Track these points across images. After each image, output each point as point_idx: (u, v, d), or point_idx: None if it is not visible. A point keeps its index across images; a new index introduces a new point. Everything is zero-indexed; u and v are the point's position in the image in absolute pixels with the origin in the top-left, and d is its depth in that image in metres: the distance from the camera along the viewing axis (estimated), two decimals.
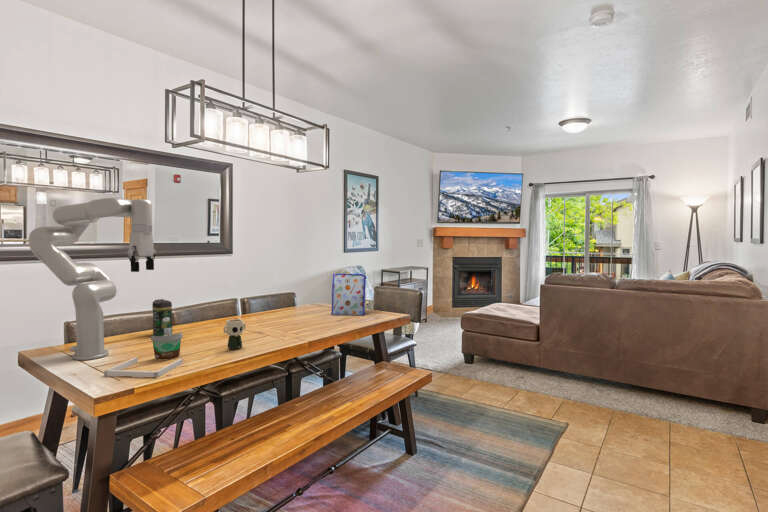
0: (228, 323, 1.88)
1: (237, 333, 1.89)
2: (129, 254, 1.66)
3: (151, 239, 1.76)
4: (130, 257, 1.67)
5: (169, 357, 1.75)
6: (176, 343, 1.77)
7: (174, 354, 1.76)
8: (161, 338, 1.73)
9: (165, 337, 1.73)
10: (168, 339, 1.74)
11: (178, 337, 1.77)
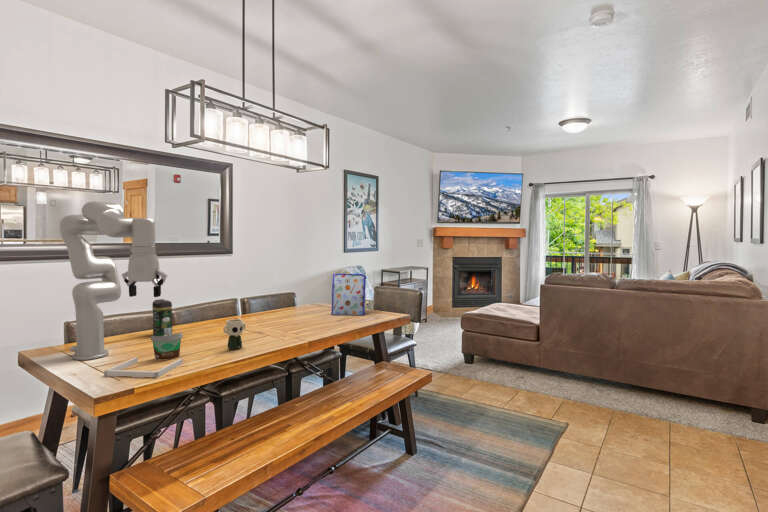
0: (228, 323, 1.88)
1: (237, 333, 1.89)
2: (165, 277, 1.57)
3: None
4: (164, 281, 1.57)
5: (169, 357, 1.75)
6: (176, 343, 1.77)
7: (174, 354, 1.76)
8: (161, 338, 1.73)
9: (165, 337, 1.73)
10: (168, 339, 1.74)
11: (178, 337, 1.77)
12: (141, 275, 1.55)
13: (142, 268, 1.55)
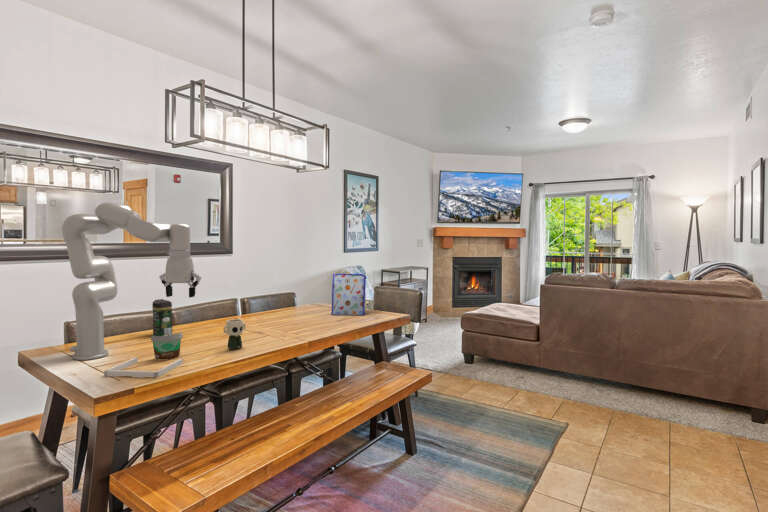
0: (228, 323, 1.88)
1: (237, 333, 1.89)
2: (199, 279, 1.70)
3: None
4: (198, 282, 1.70)
5: (169, 357, 1.75)
6: (176, 343, 1.77)
7: (174, 354, 1.76)
8: (161, 338, 1.73)
9: (165, 337, 1.73)
10: (168, 339, 1.74)
11: (178, 337, 1.77)
12: (178, 277, 1.67)
13: (179, 270, 1.67)
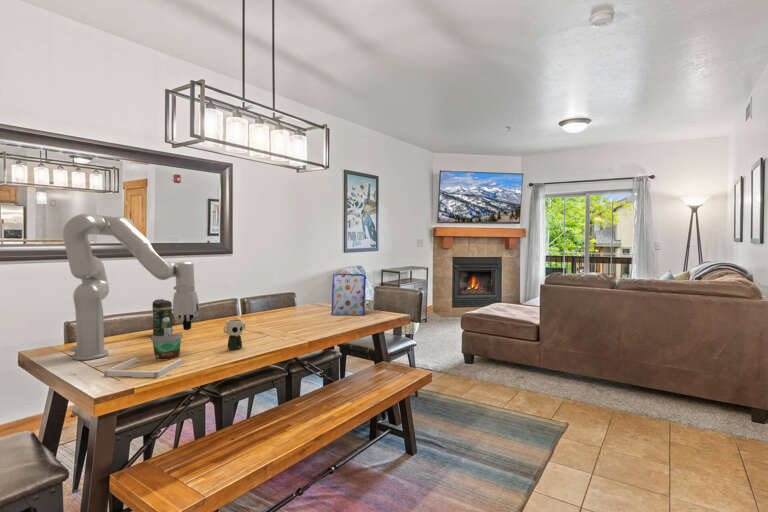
0: (228, 323, 1.88)
1: (237, 333, 1.89)
2: None
3: None
4: (193, 317, 1.89)
5: (169, 357, 1.75)
6: (176, 343, 1.77)
7: (174, 354, 1.76)
8: (161, 338, 1.73)
9: (165, 337, 1.73)
10: (168, 339, 1.74)
11: (178, 337, 1.77)
12: (184, 309, 1.86)
13: (185, 303, 1.86)
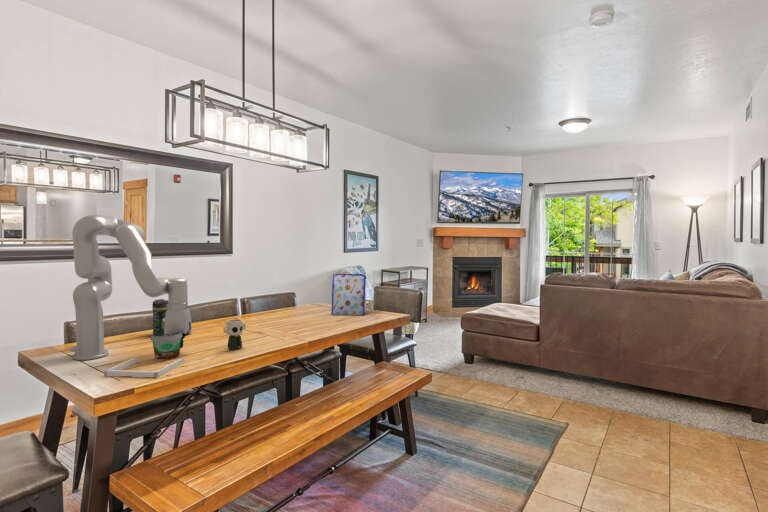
0: (228, 323, 1.88)
1: (237, 333, 1.89)
2: None
3: None
4: (185, 335, 1.83)
5: (169, 357, 1.75)
6: (176, 343, 1.77)
7: (174, 354, 1.76)
8: (161, 338, 1.72)
9: (165, 337, 1.73)
10: (168, 339, 1.73)
11: (178, 337, 1.77)
12: (176, 328, 1.80)
13: (178, 322, 1.80)
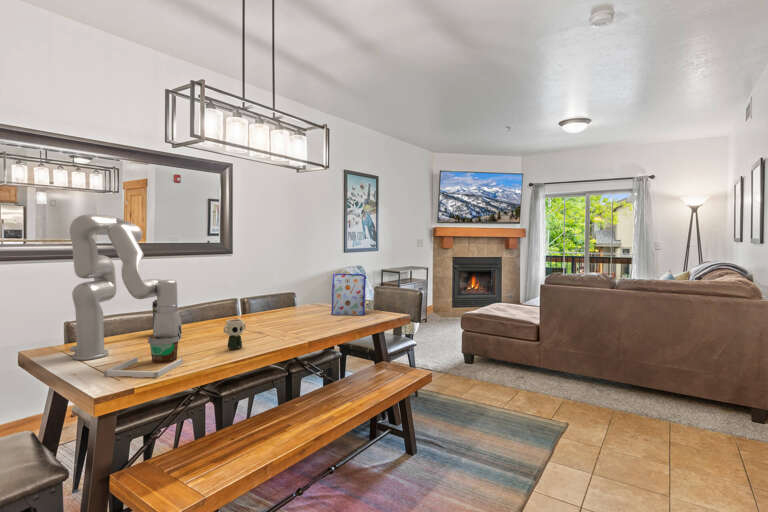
0: (228, 323, 1.88)
1: (237, 333, 1.89)
2: None
3: None
4: None
5: (158, 361, 1.69)
6: (166, 348, 1.69)
7: (163, 359, 1.69)
8: (150, 340, 1.69)
9: (153, 340, 1.68)
10: (155, 342, 1.68)
11: (166, 342, 1.69)
12: (166, 332, 1.72)
13: (167, 325, 1.72)
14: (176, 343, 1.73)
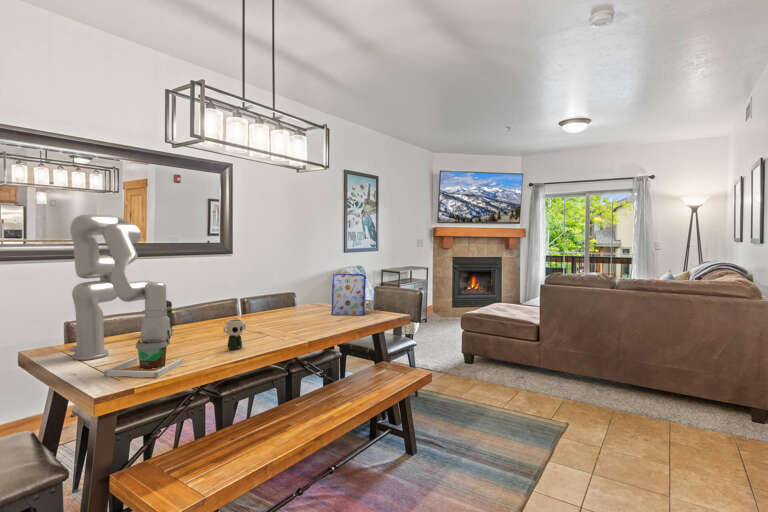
0: (228, 323, 1.88)
1: (237, 333, 1.89)
2: None
3: None
4: None
5: (144, 367, 1.62)
6: (153, 354, 1.62)
7: (150, 365, 1.62)
8: (137, 345, 1.62)
9: (139, 345, 1.61)
10: (141, 347, 1.60)
11: (153, 347, 1.61)
12: (153, 337, 1.65)
13: (155, 330, 1.65)
14: (164, 348, 1.65)
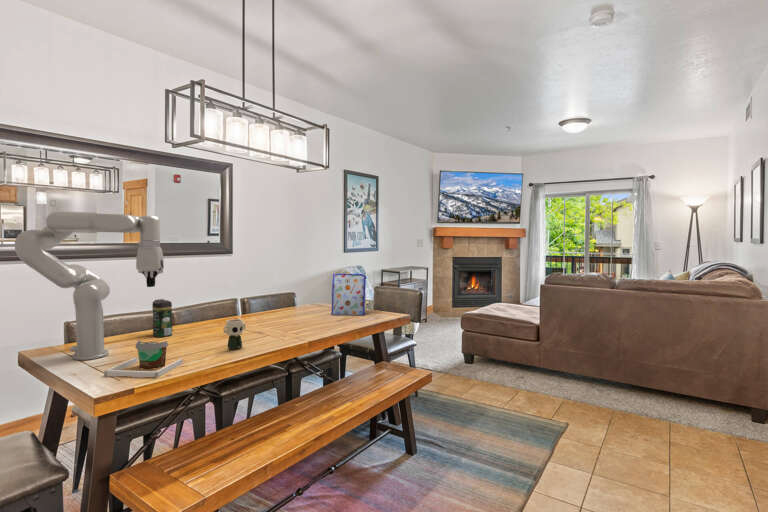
0: (228, 323, 1.88)
1: (237, 333, 1.89)
2: None
3: None
4: (157, 274, 1.83)
5: (144, 367, 1.62)
6: (153, 354, 1.62)
7: (150, 365, 1.62)
8: (137, 345, 1.62)
9: (139, 345, 1.61)
10: (141, 347, 1.60)
11: (153, 347, 1.61)
12: (148, 265, 1.80)
13: (149, 259, 1.80)
14: (164, 348, 1.65)
